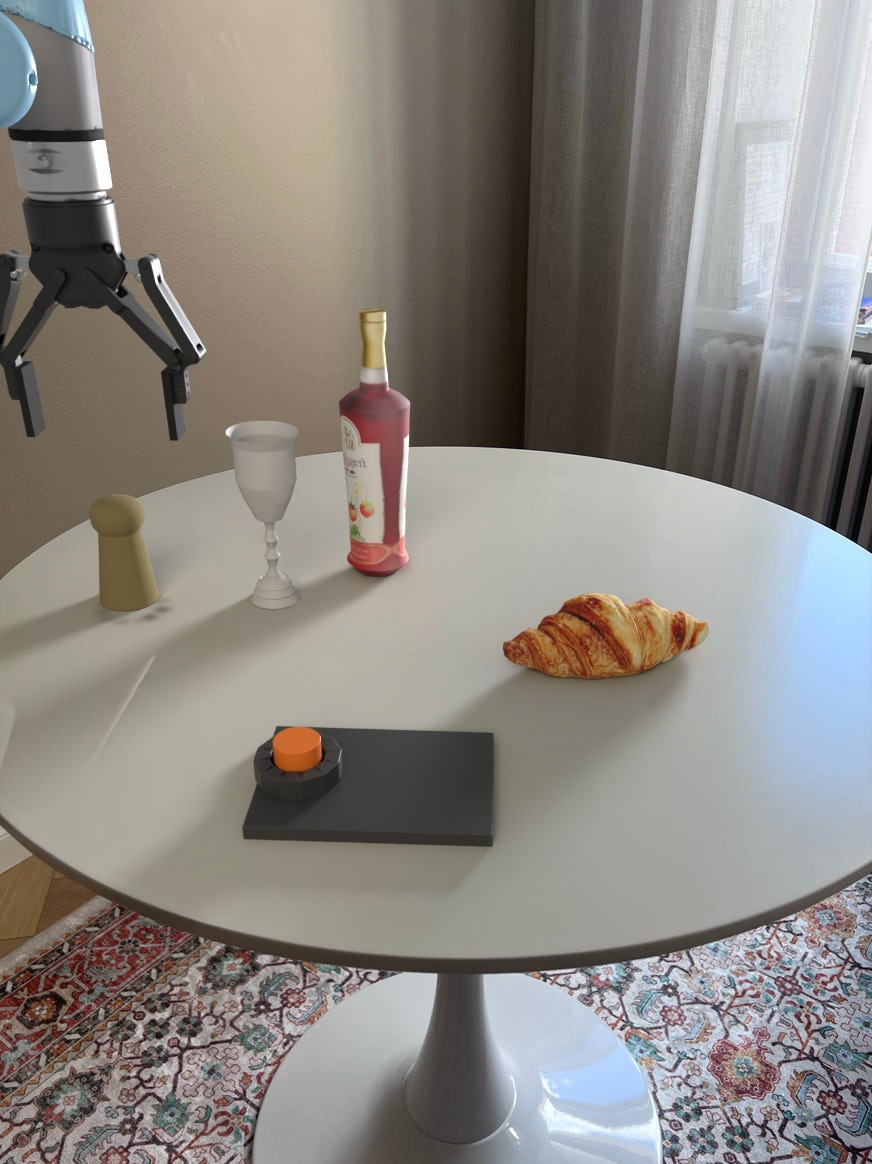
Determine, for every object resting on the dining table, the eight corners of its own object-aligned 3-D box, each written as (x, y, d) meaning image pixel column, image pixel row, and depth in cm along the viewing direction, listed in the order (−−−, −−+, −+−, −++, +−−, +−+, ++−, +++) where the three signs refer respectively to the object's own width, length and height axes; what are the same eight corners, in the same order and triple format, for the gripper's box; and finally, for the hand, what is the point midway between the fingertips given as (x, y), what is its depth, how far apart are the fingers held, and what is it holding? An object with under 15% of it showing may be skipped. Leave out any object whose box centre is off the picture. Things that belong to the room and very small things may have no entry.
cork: (97, 613, 103) (79, 512, 98) (101, 587, 108) (85, 489, 103) (159, 608, 105) (144, 508, 99) (161, 582, 110) (147, 486, 104)
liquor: (423, 572, 114) (424, 314, 100) (367, 588, 110) (359, 322, 96) (388, 549, 119) (383, 301, 105) (333, 564, 115) (321, 308, 101)
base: (240, 840, 74) (236, 807, 72) (274, 737, 85) (271, 707, 84) (492, 847, 74) (493, 815, 72) (492, 744, 85) (494, 714, 84)
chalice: (228, 595, 108) (211, 429, 99) (284, 577, 112) (272, 416, 103) (266, 620, 103) (251, 448, 94) (322, 600, 107) (313, 434, 98)
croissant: (685, 660, 105) (677, 583, 105) (739, 662, 95) (730, 577, 95) (491, 687, 98) (482, 605, 98) (529, 693, 89) (519, 602, 89)
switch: (270, 772, 77) (268, 753, 76) (279, 744, 80) (277, 725, 79) (317, 773, 77) (316, 754, 76) (325, 746, 80) (323, 727, 79)
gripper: (-100, 196, 84) (-41, 443, 95) (201, 203, 84) (227, 450, 95) (-57, 186, 91) (-6, 419, 101) (222, 193, 91) (245, 425, 101)
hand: (107, 434), depth 98 cm, fingers open, 13 cm apart
